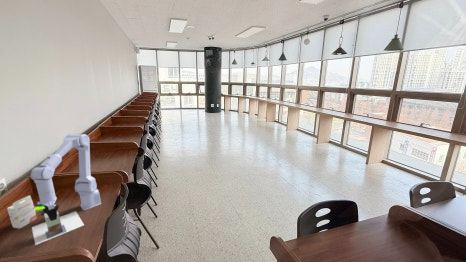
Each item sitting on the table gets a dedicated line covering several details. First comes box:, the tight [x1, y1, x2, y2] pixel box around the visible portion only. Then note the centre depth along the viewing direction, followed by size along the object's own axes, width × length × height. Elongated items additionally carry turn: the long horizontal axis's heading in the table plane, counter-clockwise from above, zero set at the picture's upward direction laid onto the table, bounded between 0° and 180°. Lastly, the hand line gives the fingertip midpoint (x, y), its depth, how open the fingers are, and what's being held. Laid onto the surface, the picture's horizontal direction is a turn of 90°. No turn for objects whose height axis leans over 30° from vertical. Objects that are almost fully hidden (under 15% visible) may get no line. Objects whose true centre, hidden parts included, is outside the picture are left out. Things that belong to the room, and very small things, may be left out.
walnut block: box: [47, 223, 63, 237], centre depth 108 cm, size 5×5×5 cm
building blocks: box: [34, 204, 57, 215], centre depth 127 cm, size 15×13×4 cm
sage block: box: [43, 210, 61, 227], centre depth 106 cm, size 5×5×5 cm
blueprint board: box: [31, 211, 85, 246], centre depth 112 cm, size 19×18×1 cm
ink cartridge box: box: [6, 195, 38, 229], centre depth 114 cm, size 9×5×15 cm, turn 168°
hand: (52, 216), depth 106 cm, fingers open, 7 cm apart
